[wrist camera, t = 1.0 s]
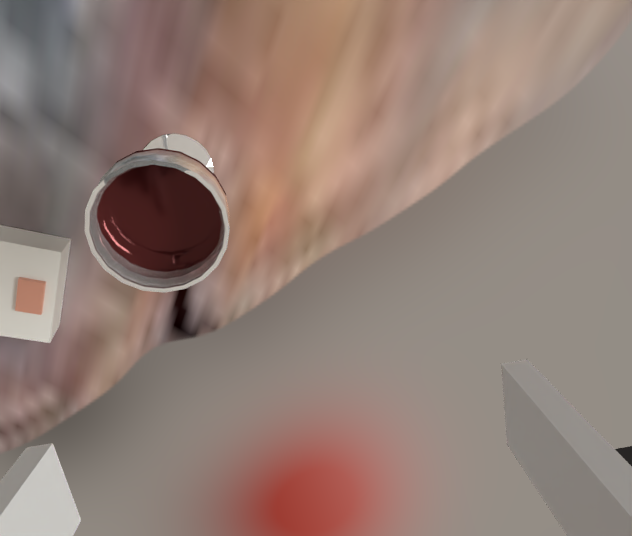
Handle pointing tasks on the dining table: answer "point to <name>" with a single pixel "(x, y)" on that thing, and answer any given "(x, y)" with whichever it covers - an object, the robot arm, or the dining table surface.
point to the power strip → (31, 283)
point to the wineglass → (159, 216)
